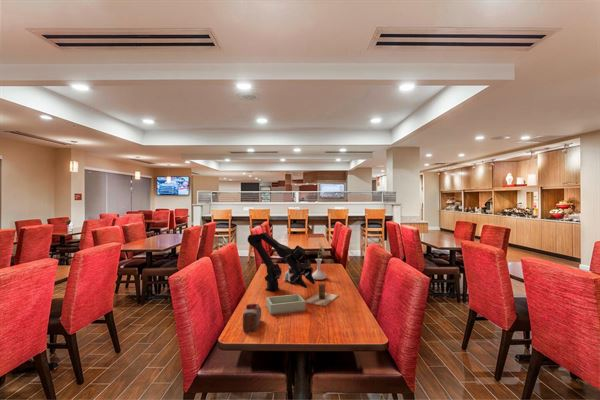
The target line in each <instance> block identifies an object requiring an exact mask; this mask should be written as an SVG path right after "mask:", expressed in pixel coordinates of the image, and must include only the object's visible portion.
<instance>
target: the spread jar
mask: <svg viewBox="0 0 600 400" xmlns="http://www.w3.org/2000/svg"><path fill="white" fill-rule="evenodd" d="M288 267H289V268H288V270H286V271H285V273H284V275H283V281H285V282H286V281H288V283H289V284H294V283H293V282H291V281H290V277H291V276H292V275H293V274H294V271H291V267H290V266H289V265H288Z"/></svg>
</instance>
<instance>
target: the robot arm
mask: <svg viewBox="0 0 600 400" xmlns="http://www.w3.org/2000/svg"><path fill="white" fill-rule="evenodd" d="M246 241H247V242H248V244H249V245H250V246H251V247H252V248H254V249H255V250H256V252H257V253H258V255H259V257H260V258H261V260H262V262H263V263H264V266H265V267H266V275H265V276H264V280H265V282H266V288H265V290H266V291H268V292H269V291H270V292H276V291H277V290H280V287H279V279H280V278H281V275H282V268H281V267H280V265H279V263H274V262H273V260H272V258H271V257H270V255H269V254H268V251H266V249H265V247H264V246H263V241H264V242H265V243H267V244H268V245H269V246H271V248H273V249H274V250H275V251H276V254H277V256H279V257H280V258H282V259H283V264H287V265H288V267H289V266H290V267H291V271H294V274H293V275H292V276H291V277H290V281H291V282H293V283H292V284H296V285H298V286H300V287H303V288H304V289H307V288H308V286H307V284H306V283H305V281H304V279H303V276H304V278H305V279H306V280H307V281H308V282H310V283H311V285H315V284H316V282H315V279H313V276H312V274H313V273H314V268H313V267H312V261H310V260H309V259H307V260H305V261H304V262H303V263H302V262H299V260H301V259H302V258H303V257H304V255H306V253H307V252H306V249H305V248H303V247H302V246H300V245H296V246H295V247H294V249H292V248H290V246H287V245H284V244H281V243H280V242H279V241H277V240H276V239H275V238H274V237H272V236H271V235H269V234H268V232H260V233H254V234H249V235H248V236H247V240H246Z"/></svg>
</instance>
